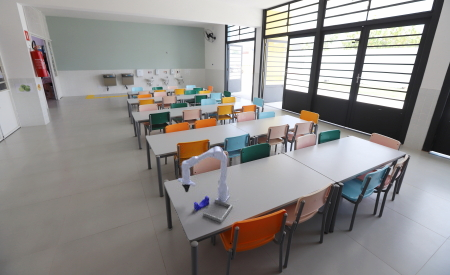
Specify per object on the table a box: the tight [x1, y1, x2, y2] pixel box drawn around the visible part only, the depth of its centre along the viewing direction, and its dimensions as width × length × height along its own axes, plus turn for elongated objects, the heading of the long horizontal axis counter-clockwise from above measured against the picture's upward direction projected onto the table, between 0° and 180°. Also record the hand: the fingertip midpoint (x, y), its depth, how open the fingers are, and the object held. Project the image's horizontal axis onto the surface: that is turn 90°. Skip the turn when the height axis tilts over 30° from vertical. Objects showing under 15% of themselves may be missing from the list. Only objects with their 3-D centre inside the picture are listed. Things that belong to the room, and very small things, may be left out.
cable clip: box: [193, 195, 210, 212], centre depth 166 cm, size 12×4×6 cm, turn 134°
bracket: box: [202, 198, 233, 223], centre depth 161 cm, size 18×14×2 cm
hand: (187, 191), depth 170 cm, fingers closed
